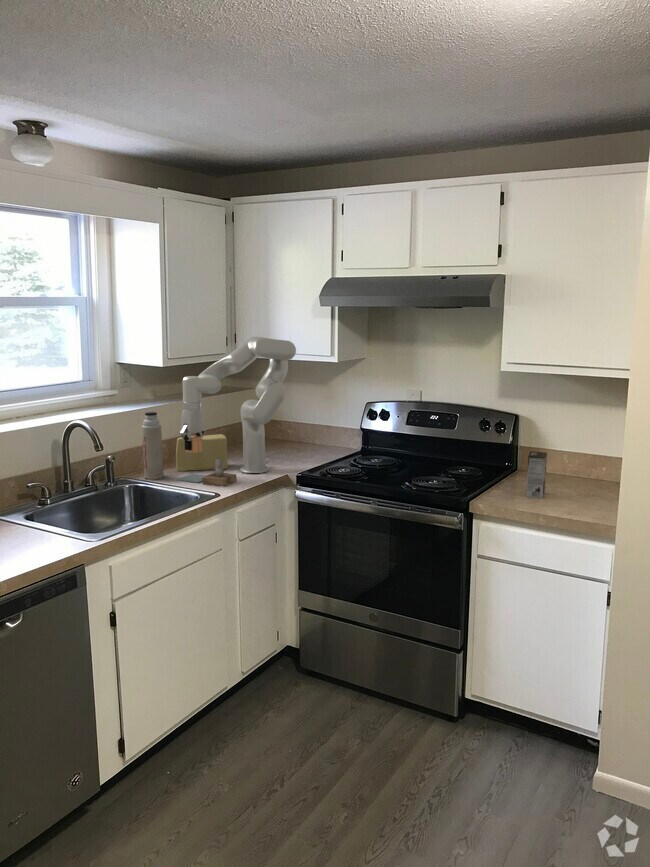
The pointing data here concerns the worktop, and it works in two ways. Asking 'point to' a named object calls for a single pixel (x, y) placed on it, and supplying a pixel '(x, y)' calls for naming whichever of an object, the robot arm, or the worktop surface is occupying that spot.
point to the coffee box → (536, 474)
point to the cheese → (202, 454)
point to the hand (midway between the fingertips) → (193, 448)
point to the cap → (196, 444)
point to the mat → (192, 478)
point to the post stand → (219, 475)
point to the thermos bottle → (152, 447)
